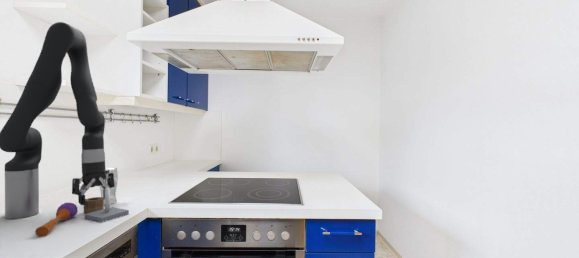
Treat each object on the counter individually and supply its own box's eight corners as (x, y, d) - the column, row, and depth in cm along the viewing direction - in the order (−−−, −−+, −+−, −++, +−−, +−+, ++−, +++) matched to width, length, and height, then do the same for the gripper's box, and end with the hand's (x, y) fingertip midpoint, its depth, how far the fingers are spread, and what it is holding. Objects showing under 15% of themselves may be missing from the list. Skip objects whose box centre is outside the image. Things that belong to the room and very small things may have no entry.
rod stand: (84, 218, 102) (84, 189, 101) (112, 210, 111) (112, 184, 111) (101, 222, 97) (101, 192, 97) (128, 214, 106) (128, 186, 106)
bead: (81, 212, 108) (80, 200, 108) (97, 208, 113) (97, 196, 113) (90, 215, 105) (90, 201, 105) (106, 210, 111) (106, 198, 111)
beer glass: (117, 204, 120) (116, 169, 119) (97, 206, 116) (97, 170, 116) (118, 200, 126) (118, 167, 126) (100, 202, 123) (99, 168, 122)
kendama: (27, 225, 84) (59, 202, 103) (33, 243, 85) (63, 217, 104) (50, 219, 85) (78, 198, 104) (56, 237, 86) (82, 213, 105)
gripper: (106, 158, 117) (107, 196, 117) (67, 162, 104) (68, 205, 104) (117, 158, 113) (118, 198, 113) (78, 163, 100) (79, 208, 101)
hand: (94, 201), depth 109 cm, fingers open, 8 cm apart
